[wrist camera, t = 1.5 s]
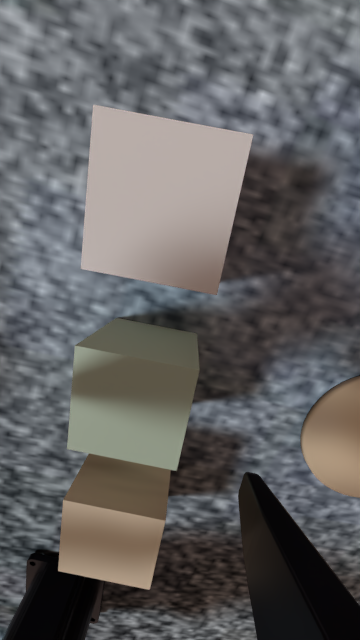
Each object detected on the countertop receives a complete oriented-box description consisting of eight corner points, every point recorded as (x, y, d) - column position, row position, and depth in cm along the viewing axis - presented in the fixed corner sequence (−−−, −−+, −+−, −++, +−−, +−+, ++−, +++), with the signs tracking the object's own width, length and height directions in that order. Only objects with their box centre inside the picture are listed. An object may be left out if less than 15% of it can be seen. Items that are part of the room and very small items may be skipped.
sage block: (181, 403, 15) (176, 470, 10) (108, 389, 15) (67, 448, 10) (197, 333, 13) (199, 369, 9) (117, 317, 14) (75, 345, 9)
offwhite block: (207, 284, 13) (216, 294, 8) (122, 268, 13) (80, 268, 8) (227, 190, 12) (253, 134, 7) (134, 172, 12) (93, 104, 7)
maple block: (162, 495, 17) (149, 589, 12) (97, 482, 17) (58, 571, 12) (173, 440, 15) (165, 520, 11) (103, 426, 15) (63, 500, 11)
